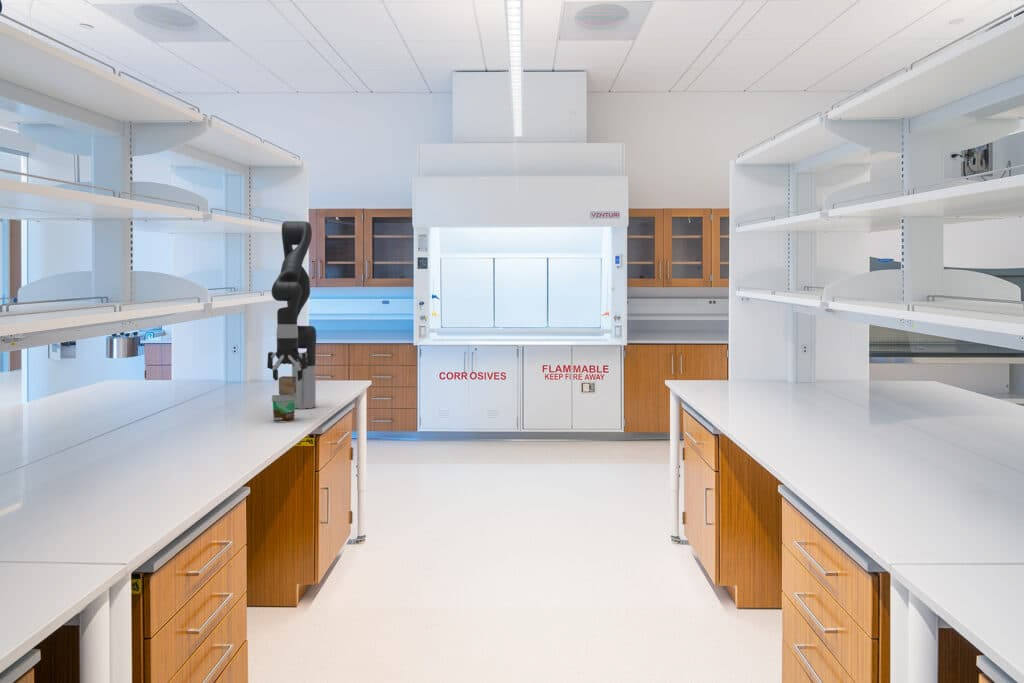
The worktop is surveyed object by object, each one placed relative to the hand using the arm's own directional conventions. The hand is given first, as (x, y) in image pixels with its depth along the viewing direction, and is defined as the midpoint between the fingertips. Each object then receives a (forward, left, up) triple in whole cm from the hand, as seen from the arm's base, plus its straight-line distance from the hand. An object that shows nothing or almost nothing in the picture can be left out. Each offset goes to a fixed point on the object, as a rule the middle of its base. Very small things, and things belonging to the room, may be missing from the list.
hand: (287, 380), depth 290 cm
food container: (0, 0, -15) cm, 15 cm away
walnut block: (0, 0, -5) cm, 5 cm away
